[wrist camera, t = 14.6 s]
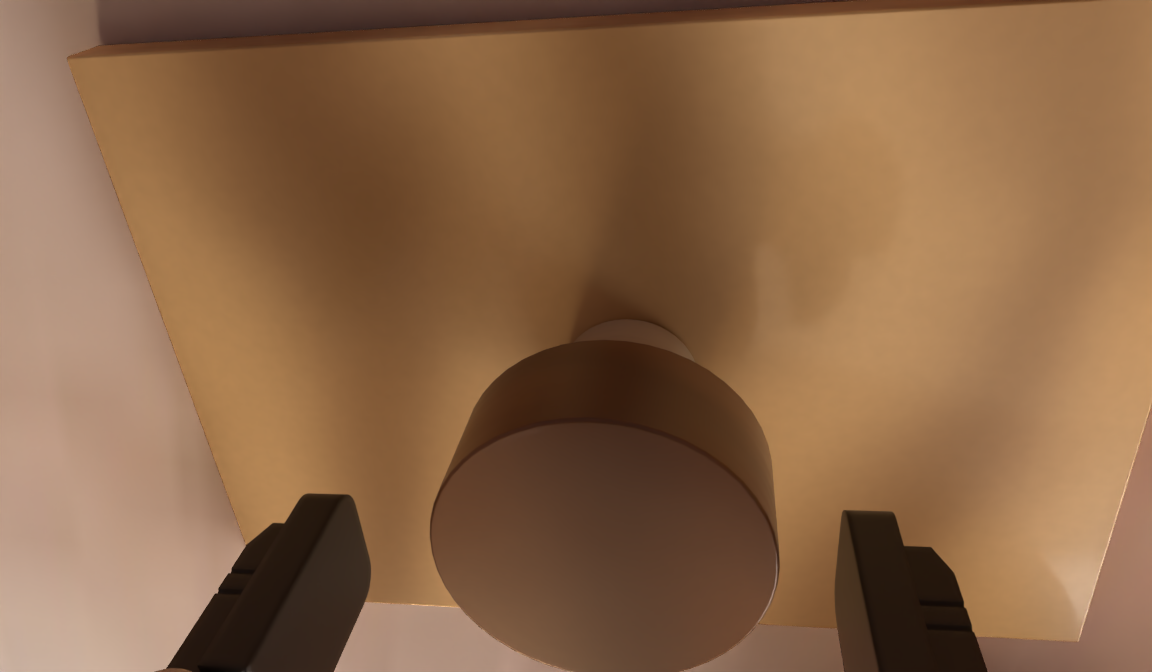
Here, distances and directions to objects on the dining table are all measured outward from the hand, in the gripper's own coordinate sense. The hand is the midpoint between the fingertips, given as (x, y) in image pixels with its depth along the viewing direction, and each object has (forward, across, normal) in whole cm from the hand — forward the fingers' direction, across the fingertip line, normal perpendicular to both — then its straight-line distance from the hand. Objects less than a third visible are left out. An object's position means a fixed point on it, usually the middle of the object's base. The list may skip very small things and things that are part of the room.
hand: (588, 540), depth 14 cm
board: (+5, 0, 0) cm, 5 cm away
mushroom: (+4, 0, 0) cm, 4 cm away
